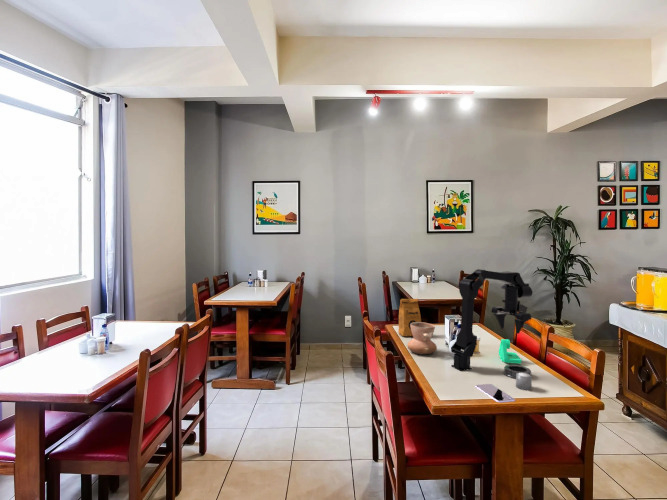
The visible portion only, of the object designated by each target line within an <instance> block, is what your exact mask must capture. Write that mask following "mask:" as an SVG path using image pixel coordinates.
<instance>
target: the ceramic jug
mask: <svg viewBox="0 0 667 500" xmlns="http://www.w3.org/2000/svg"><path fill="white" fill-rule="evenodd" d="M410 325H411V331H412V334H413V336H412V337H413V338H412V339H411V340H409V341H408V342H407V345H406V346H407V349H408V350H409V351H410V352H412V353H413V354H417V355H430V354H433V353H435V352H437V348H438V347H437V345H436V343H435V342H434V341H432V340H431V339H432V337H433V335H434V332H435V330H436V326H435V325H434V324H432V323H428V322H422V321H421V322H414V323H411V324H410Z"/></svg>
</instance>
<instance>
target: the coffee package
mask: <svg viewBox="0 0 667 500" xmlns="http://www.w3.org/2000/svg"><path fill="white" fill-rule="evenodd" d="M399 301H400V302H399V303H400V304H399V310H398V334H399V335H400V336H402V337H413V334H412V331H411V325H410V324H411V323H414V322H422V318H421V316H422V315H421V311H420V307H419V298H401V299H400V300H399Z"/></svg>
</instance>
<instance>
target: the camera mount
mask: <svg viewBox="0 0 667 500" xmlns="http://www.w3.org/2000/svg"><path fill="white" fill-rule="evenodd" d="M508 349H509V350H510V349H511V341H510V339H508V338H507V339H503V338H501V339H500V344H499V348H498V356H499V359H500V360H501V362H502V363H508V364H522V358H521V357H520V356H519V355H518V354H517V353H516V352H513V351H511V352H510V351H508Z"/></svg>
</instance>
